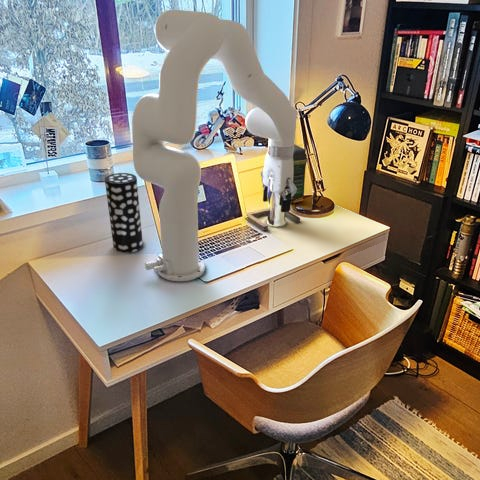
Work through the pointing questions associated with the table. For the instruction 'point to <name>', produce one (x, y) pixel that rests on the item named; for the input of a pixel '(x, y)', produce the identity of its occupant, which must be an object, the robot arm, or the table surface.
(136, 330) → the table surface
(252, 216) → the walnut bay
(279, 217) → the beer glass
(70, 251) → the table surface
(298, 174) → the coffee jar
